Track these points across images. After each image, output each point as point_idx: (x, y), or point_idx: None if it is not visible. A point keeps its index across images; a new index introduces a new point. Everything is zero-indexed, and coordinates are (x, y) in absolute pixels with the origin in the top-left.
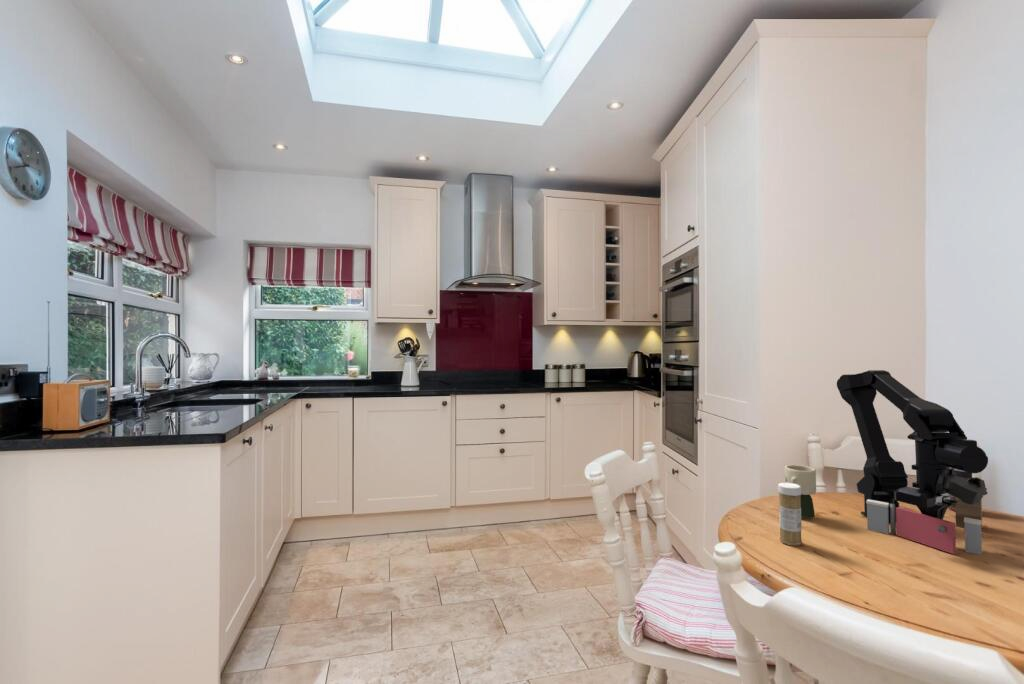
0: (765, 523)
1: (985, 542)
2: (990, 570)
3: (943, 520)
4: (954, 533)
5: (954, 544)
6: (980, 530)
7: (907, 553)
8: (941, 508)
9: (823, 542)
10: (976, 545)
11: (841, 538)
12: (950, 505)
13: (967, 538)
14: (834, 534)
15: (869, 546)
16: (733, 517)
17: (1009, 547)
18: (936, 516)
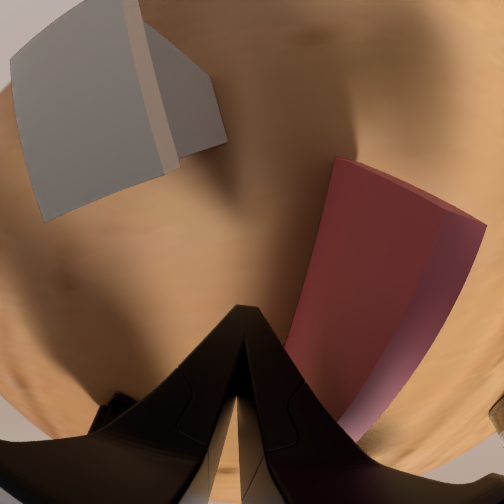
0: (425, 460)
1: (21, 163)
2: (411, 19)
3: (417, 325)
4: (399, 183)
5: (367, 167)
6: (152, 33)
7: (467, 285)
8: (339, 485)
9: (482, 396)
10: (204, 88)
11: (439, 405)
12: (106, 485)
13: (210, 131)
14: (417, 422)
15: (464, 359)
16: (422, 473)
17: (8, 99)
18: (318, 401)
